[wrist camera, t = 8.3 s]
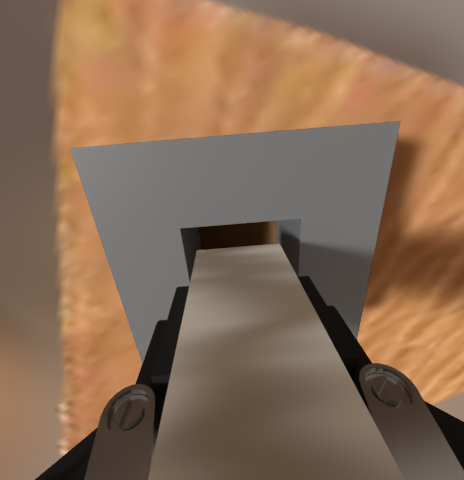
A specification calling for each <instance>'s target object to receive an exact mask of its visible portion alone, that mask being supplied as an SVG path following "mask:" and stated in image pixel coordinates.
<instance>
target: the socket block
mask: <svg viewBox="0 0 464 480" xmlns="http://www.w3.org/2000/svg"><path fill="white" fill-rule="evenodd" d="M399 126H400V121H396V122H384V123H372V124H359V125H347V126H335V127H322V128H310V129H298V130H286V131H274V132H261V133H249V134H237V135H225V136H213V137H201V138H188V139H176V140H164V141H152V142H140V143H127V144H115V145H103V146H91V147H79V148H70V150H71V153H72V156H73V159H74V162H75V165H76V168H77V171H78V174H79V177H80V180H81V183H82V185H83V188H84V191H85V194H86V197H87V200H88V203H89V206H90V209H91V212H92V215H93V218H94V221H95V224H96V227H97V230H98V233H99V236H100V239H101V242H102V245H103V248H104V251H105V254H106V257H107V260H108V262H109V265H110V268H111V271H112V274H113V277H114V280H115V283H116V286H117V289H118V292H119V295H120V298H121V301H122V304H123V307H124V310H125V313H126V316H127V319H128V322H129V325H130V328H131V331H132V334H133V337H134V340H135V342H136V345H137V348H138V351H139V354H140V357H141V360H142V363H143V361H144V358H145V356H146V353H147V350H148V347H149V344H150V341H151V338H152V335H153V332H154V329H155V326H156V324H157V322H158V321H159V320H167V318H168V315H169V312H170V308H171V305H172V301H173V298H174V295H175V291H176V288H177V287H182V286H189V285H190V281H191V276H192V271H193V267H194V262H195V257H196V252H197V250H202V249H201V242H200V235H199V228H198V227H205V226H217V225H229V224H241V223H254V222H266V221H276V244H278V243H280V245H281V247H282V249H283V251H284V253H285V255H286V256H287V258H288V260H289V262H290V264H291V266H292V268H293V270H294V271H295V273H296V275H297V277H299V276H309V277H310V279H311V280H312V282H313V284H314V285H315V287H316V288H317V290H318V292H319V293H320V295H321V297H322V298H323V300H324V301H325V303H326V305H327V306H331V305H332V306H334V307H335V308H336V309H337V311H338V312H339V314H340V315H341V317H342V318H343V320H344V321H345V323H346V324H347V326H348V327H349V329H350V330H351V332H352V334H353V335H354V337H355V338H356V340H357V336H358V331H359V326H360V321H361V316H362V311H363V306H364V301H365V296H366V291H367V286H368V281H369V276H370V271H371V266H372V261H373V256H374V251H375V246H376V241H377V236H378V231H379V226H380V221H381V216H382V211H383V206H384V201H385V196H386V191H387V186H388V181H389V176H390V171H391V166H392V161H393V156H394V151H395V146H396V141H397V136H398V131H399Z"/></svg>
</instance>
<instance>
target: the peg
mask: <svg viewBox="0 0 464 480" xmlns="http://www.w3.org/2000/svg"><path fill="white" fill-rule="evenodd" d="M148 480H405V479H404V477H403V475H402V473H401V471H400V469H399V467H398V466H397V464H396V462H395V460H394V458H393V456H392V454H391V452H390V450H389V449H388V447H387V445H386V443H385V441H384V439H383V437H382V435H381V433H380V432H379V430H378V428H377V426H376V424H375V422H374V420H373V418H372V417H371V415H370V413H369V411H368V409H367V407H366V405H365V403H364V401H363V400H362V398H361V396H360V394H359V392H358V390H357V388H356V386H355V385H354V383H353V381H352V379H351V377H350V375H349V373H348V371H347V369H346V368H345V366H344V364H343V362H342V360H341V358H340V356H339V354H338V352H337V351H336V349H335V347H334V345H333V343H332V341H331V339H330V337H329V336H328V334H327V332H326V330H325V328H324V326H323V324H322V322H321V320H320V319H319V317H318V315H317V313H316V311H315V309H314V307H313V305H312V304H311V302H310V300H309V298H308V296H307V294H306V292H305V290H304V288H303V287H302V285H301V283H300V281H299V279H298V277H297V275H296V273H295V271H294V270H293V268H292V266H291V264H290V262H289V260H288V258H287V256H286V255H285V253H284V251H283V249H282V247H281V245H280V243H278V244H267V245H255V246H243V247H232V248H220V249H208V250H197V252H196V257H195V262H194V267H193V271H192V276H191V281H190V285H189V290H188V295H187V299H186V304H185V309H184V314H183V318H182V323H181V328H180V332H179V337H178V342H177V346H176V351H175V356H174V361H173V365H172V370H171V375H170V379H169V384H168V389H167V393H166V398H165V403H164V407H163V412H162V417H161V422H160V426H159V431H158V436H157V440H156V445H155V450H154V454H153V459H152V464H151V469H150V473H149V478H148Z"/></svg>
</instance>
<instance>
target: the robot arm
mask: <svg viewBox="0 0 464 480" xmlns="http://www.w3.org/2000/svg"><path fill="white" fill-rule="evenodd" d="M298 279H299V281H300V283H301V285H302V287H303V288H304V290H305V292H306V294H307V296H308V298H309V300H310V302H311V304H312V305H313V307H314V309H315V311H316V313H317V315H318V317H319V319H320V320H321V322H322V324H323V326H324V328H325V330H326V332H327V334H328V336H329V337H330V339H331V341H332V343H333V345H334V347H335V349H336V351H337V352H338V354H339V356H340V358H341V360H342V362H343V364H344V366H345V368H346V369H347V371H348V373H349V375H350V377H351V379H352V381H353V383H354V385H355V386H356V388H357V390H358V392H359V394H360V396H361V398H362V400H363V401H364V403H365V405H366V407H367V409H368V411H369V413H370V415H371V417H372V418H373V420H374V422H375V424H376V426H377V428H378V430H379V432H380V433H381V435H382V437H383V439H384V441H385V443H386V445H387V447H388V449H389V450H390V452H391V454H392V456H393V458H394V460H395V462H396V464H397V466H398V467H399V469H400V471H401V473H402V475H403V477H404V479H405V480H464V422H463V421H461V420H459V419H457V418H455V417H453V416H451V415H449V414H448V413H446V412H444V411H442V410H440V409H438V408H436V407H435V406H433V405H431V404H429V403H427V402H425V401H424V400H423V398H422V397H421V395H420V393H419V391H418V390H417V388H416V387H415V385H414V384H413V383H412V381H411V380H410V379H409V378H407V377H406V376H405V375H404V374H403V373H401V372H400V371H398V370H397V369H395V368H393V367H390V366H388V365H384V364H379V363H372V362H371V361H370V359H369V358H368V356H367V355H366V353H365V352H364V350H363V349H362V347H361V346H360V344H359V343H358V341H357V340H356V338H355V337H354V335H353V334H352V332H351V330H350V329H349V327H348V326H347V324H346V323H345V321H344V320H343V318H342V317H341V315H340V314H339V312H338V311H337V309H336V308H335V307H334V306H332V305H331V306H327V305H326V303H325V301H324V300H323V298H322V297H321V295H320V293H319V292H318V290H317V288H316V287H315V285H314V284H313V282H312V280H311V279H310V277H309V276H299V277H298ZM188 290H189V286H182V287H177V288H176V291H175V295H174V298H173V301H172V305H171V308H170V312H169V315H168V318H167V320H159V321H158V322H157V324H156V326H155V329H154V332H153V335H152V338H151V341H150V344H149V347H148V350H147V353H146V356H145V358H144V361H143V364H142V367H141V370H140V373H139V376H138V379H137V382H136V384H135V385H131V386H128V387H126V388H124V389H122V390H121V391H119V392H118V393H116V394H115V395H114V396H113V397H112V398H111V399H110V400H109V402H108V403H107V405H106V406H105V408H104V410H103V412H102V415H101V417H100V421H99V425H98V428H96V429H95V430H94V431H93V432H92V433H90V434H89V435H88V436H87V437H86V438H84V439H83V440H82V441H81V442H80V443H78V444H77V445H76V446H75V447H74V448H72V449H71V450H70V451H69V452H68V453H66V454H65V455H64V456H63V457H62V458H60V459H59V460H58V461H57V462H56V463H55V464H53V465H52V466H51V467H50V468H48V469H47V470H46V471H45V472H44V473H42V474H41V475H40V476H39V477H38V478H36V479H35V480H148V478H149V473H150V469H151V464H152V459H153V454H154V450H155V445H156V440H157V436H158V431H159V426H160V422H161V417H162V412H163V407H164V403H165V398H166V393H167V389H168V384H169V379H170V375H171V370H172V365H173V361H174V356H175V351H176V346H177V342H178V337H179V332H180V328H181V323H182V318H183V314H184V309H185V304H186V299H187V295H188Z"/></svg>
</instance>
